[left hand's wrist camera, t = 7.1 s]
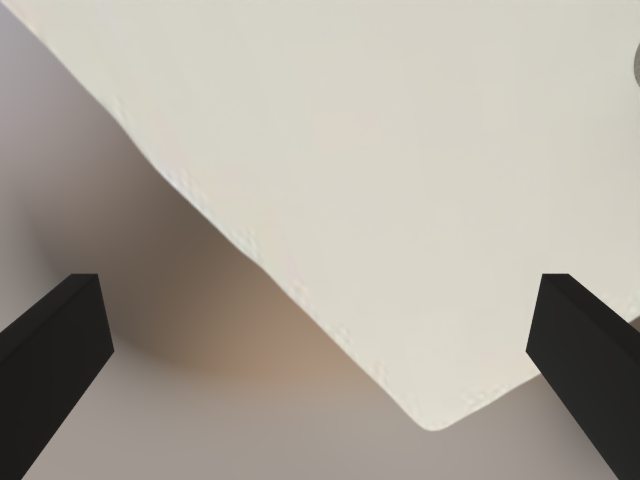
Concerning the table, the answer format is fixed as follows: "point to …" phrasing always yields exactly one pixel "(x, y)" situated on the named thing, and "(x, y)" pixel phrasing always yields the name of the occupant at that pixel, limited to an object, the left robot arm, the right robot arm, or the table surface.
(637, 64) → the bottle
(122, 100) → the table surface
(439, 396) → the table surface
